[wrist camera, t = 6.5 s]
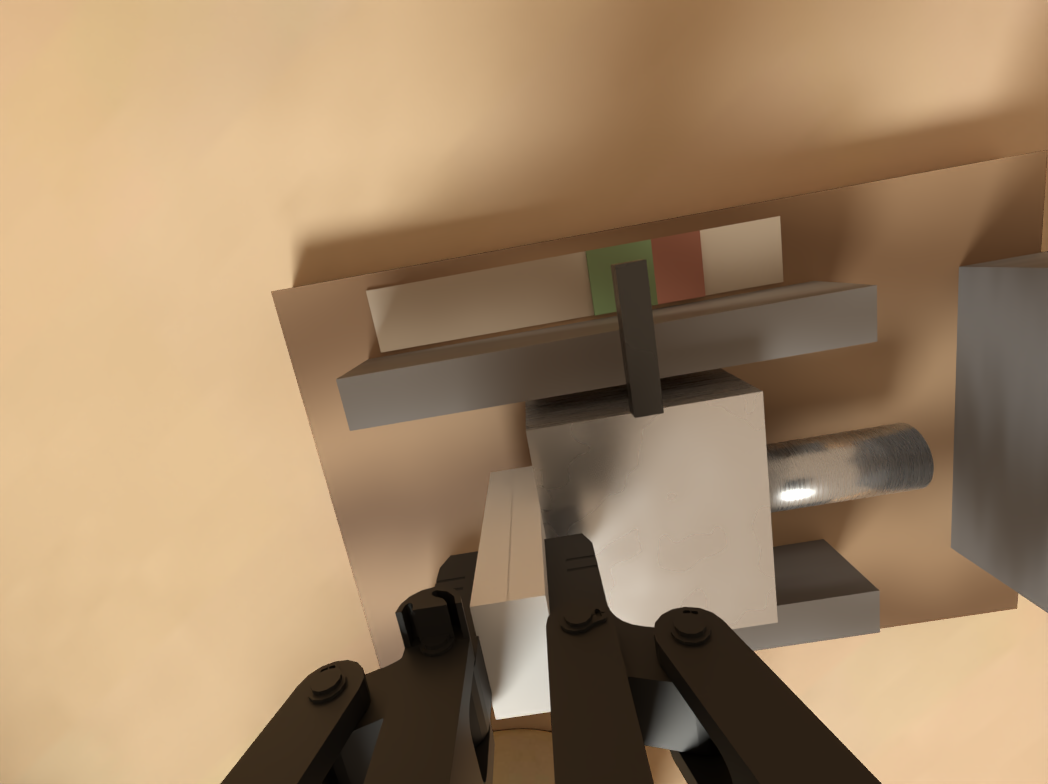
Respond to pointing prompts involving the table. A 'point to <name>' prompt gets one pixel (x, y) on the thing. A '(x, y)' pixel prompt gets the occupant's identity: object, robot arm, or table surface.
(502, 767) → the sugar bowl
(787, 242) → the gauge bed
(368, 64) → the table surface
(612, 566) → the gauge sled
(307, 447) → the table surface
